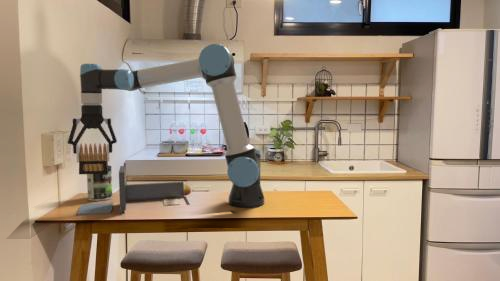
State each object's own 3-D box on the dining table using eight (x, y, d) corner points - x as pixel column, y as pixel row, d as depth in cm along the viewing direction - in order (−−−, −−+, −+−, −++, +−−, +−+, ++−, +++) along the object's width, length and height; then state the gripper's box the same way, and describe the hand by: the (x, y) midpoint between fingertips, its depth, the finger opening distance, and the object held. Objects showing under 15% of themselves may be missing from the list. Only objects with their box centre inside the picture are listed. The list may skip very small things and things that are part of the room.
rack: (185, 199, 170) (184, 163, 168) (190, 209, 154) (189, 169, 153) (121, 203, 162) (120, 165, 161) (120, 214, 147) (118, 172, 145)
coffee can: (117, 196, 176) (116, 165, 175) (104, 201, 166) (102, 169, 165) (96, 195, 178) (95, 164, 177) (82, 200, 168) (81, 168, 167)
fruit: (193, 197, 172) (187, 180, 170) (170, 205, 170) (164, 188, 168) (191, 191, 182) (186, 175, 181) (169, 199, 181) (164, 183, 179)
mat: (112, 203, 162) (112, 202, 162) (110, 212, 149) (110, 211, 149) (81, 205, 159) (81, 204, 159) (76, 215, 145) (76, 213, 145)
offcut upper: (177, 201, 165) (177, 198, 165) (179, 206, 156) (179, 203, 155) (163, 202, 164) (163, 199, 163) (164, 208, 154) (164, 205, 154)
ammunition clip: (78, 174, 151) (77, 143, 150) (80, 173, 153) (79, 143, 152) (107, 173, 152) (106, 143, 151) (108, 173, 154) (107, 142, 153)
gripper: (123, 104, 157) (124, 159, 159) (61, 104, 150) (63, 161, 152) (122, 104, 150) (123, 161, 152) (57, 104, 143) (59, 163, 145)
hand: (93, 161), depth 152 cm, fingers closed on ammunition clip, 10 cm apart
